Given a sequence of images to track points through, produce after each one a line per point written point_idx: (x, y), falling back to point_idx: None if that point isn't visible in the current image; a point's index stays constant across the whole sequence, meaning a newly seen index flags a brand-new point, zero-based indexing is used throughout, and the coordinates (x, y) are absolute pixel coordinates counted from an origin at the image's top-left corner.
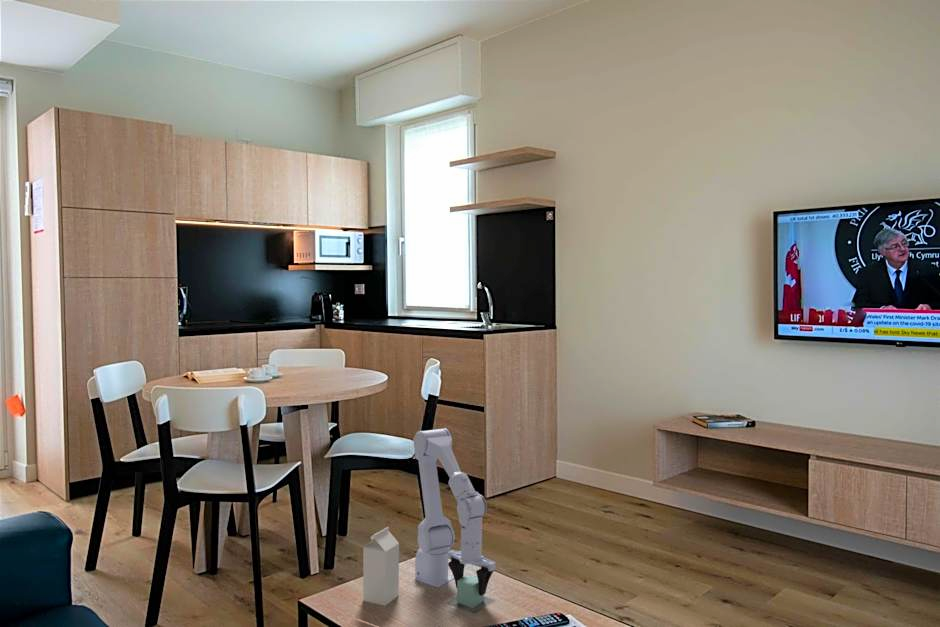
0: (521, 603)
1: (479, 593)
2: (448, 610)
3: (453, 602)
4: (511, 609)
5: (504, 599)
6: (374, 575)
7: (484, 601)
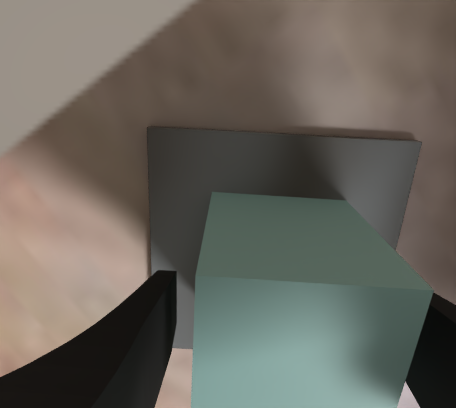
0: None
1: (166, 275)
2: (351, 79)
3: (370, 187)
4: (29, 309)
5: None
6: None
7: None
